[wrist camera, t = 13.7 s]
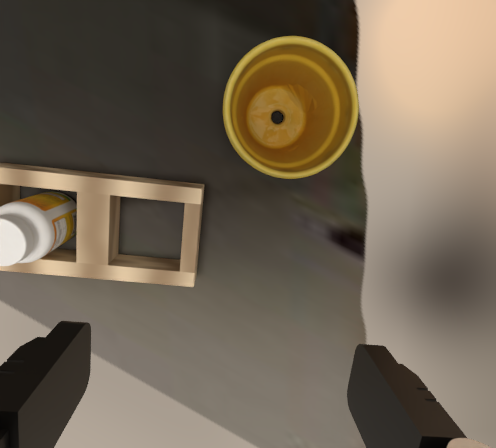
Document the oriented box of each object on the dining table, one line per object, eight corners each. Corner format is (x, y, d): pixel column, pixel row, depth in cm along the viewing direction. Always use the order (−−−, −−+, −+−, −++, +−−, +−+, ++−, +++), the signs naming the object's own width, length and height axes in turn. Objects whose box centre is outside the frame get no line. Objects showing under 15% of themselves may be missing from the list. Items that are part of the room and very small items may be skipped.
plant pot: (323, 57, 35) (358, 28, 26) (328, 163, 38) (361, 172, 28) (218, 67, 35) (214, 41, 26) (229, 173, 38) (230, 186, 28)
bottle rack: (7, 257, 38) (-15, 269, 35) (3, 162, 36) (-20, 165, 33) (196, 274, 40) (193, 286, 36) (204, 184, 38) (202, 188, 34)
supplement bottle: (18, 207, 37) (-53, 231, 28) (61, 180, 37) (3, 195, 27) (51, 250, 38) (-6, 287, 29) (93, 224, 38) (49, 253, 29)
